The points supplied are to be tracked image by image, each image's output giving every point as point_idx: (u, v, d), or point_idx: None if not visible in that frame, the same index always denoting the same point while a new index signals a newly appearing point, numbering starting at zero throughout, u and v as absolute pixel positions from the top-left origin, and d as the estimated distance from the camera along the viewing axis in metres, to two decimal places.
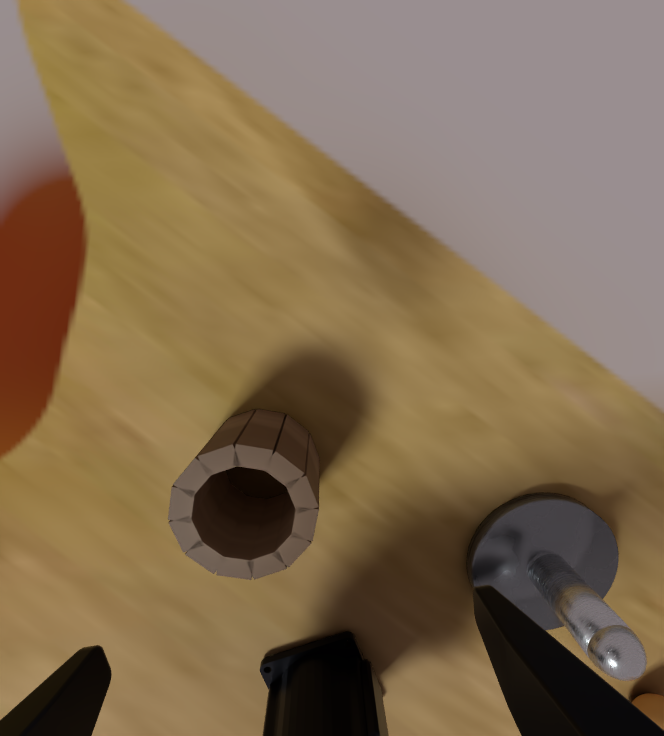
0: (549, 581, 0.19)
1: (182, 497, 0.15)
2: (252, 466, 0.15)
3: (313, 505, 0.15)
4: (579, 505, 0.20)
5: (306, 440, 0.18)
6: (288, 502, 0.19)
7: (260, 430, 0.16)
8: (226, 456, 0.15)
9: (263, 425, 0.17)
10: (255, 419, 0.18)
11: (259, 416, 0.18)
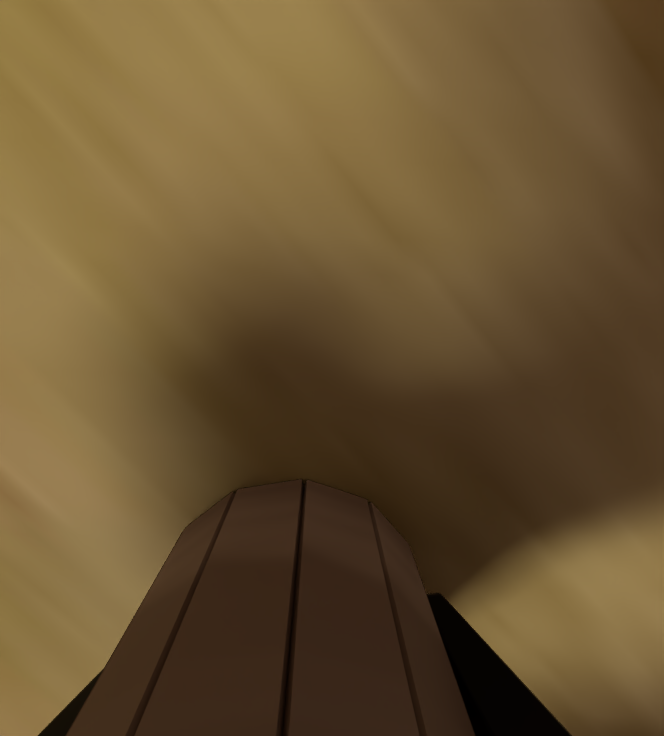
0: None
1: None
2: None
3: None
4: None
5: (422, 588, 0.07)
6: None
7: (340, 599, 0.05)
8: None
9: (341, 563, 0.06)
10: (314, 530, 0.07)
11: (318, 514, 0.07)
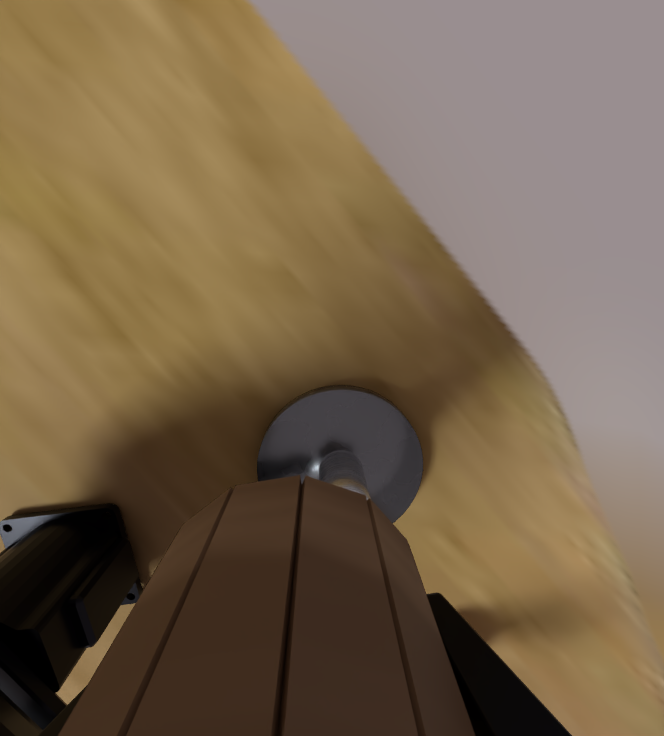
0: (326, 471, 0.16)
1: None
2: None
3: None
4: (388, 403, 0.18)
5: (420, 584, 0.07)
6: None
7: (338, 594, 0.05)
8: None
9: (338, 558, 0.06)
10: (312, 525, 0.07)
11: (316, 509, 0.07)
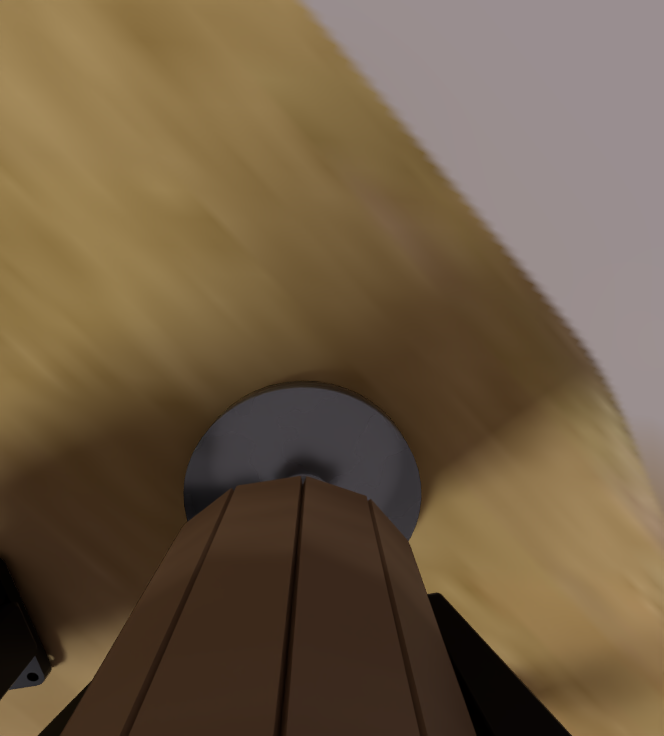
0: None
1: None
2: None
3: None
4: (366, 405, 0.12)
5: (421, 585, 0.07)
6: None
7: (340, 595, 0.05)
8: None
9: (340, 559, 0.06)
10: (313, 526, 0.07)
11: (317, 510, 0.07)
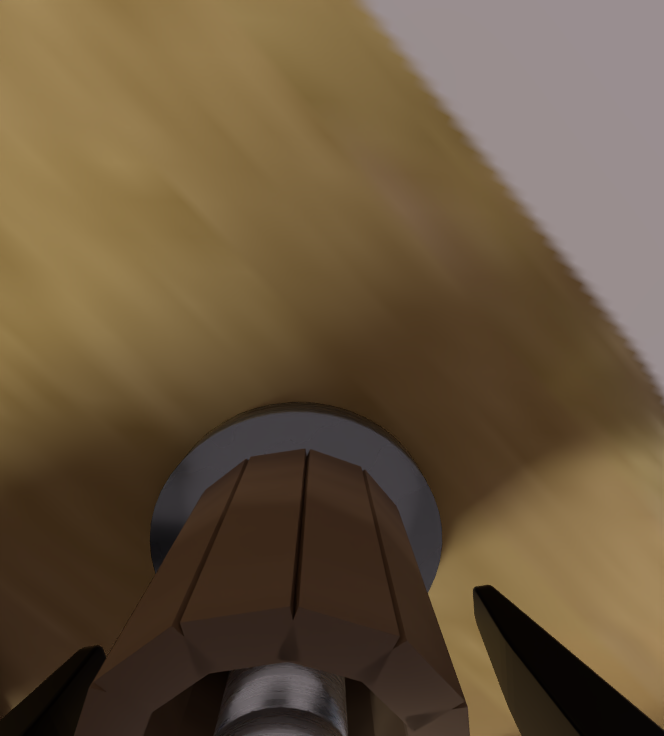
0: None
1: (116, 714, 0.05)
2: (326, 661, 0.05)
3: None
4: (376, 433, 0.10)
5: (406, 538, 0.09)
6: None
7: (337, 531, 0.07)
8: (263, 633, 0.05)
9: (338, 508, 0.08)
10: (316, 484, 0.08)
11: (320, 473, 0.09)
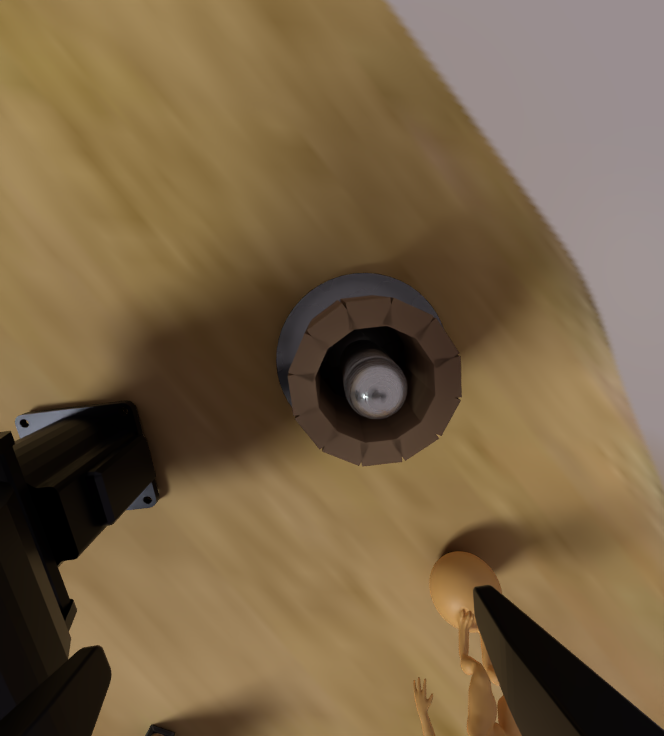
0: (349, 351, 0.16)
1: (312, 349, 0.12)
2: (401, 331, 0.13)
3: (456, 393, 0.13)
4: (412, 288, 0.17)
5: None
6: None
7: None
8: (378, 310, 0.12)
9: None
10: None
11: None
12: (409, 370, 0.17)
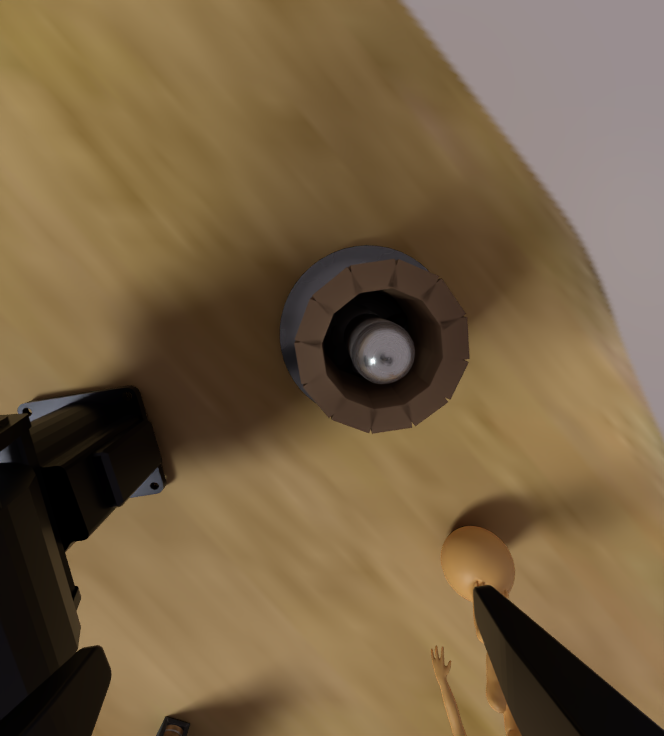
0: (353, 322, 0.16)
1: (318, 314, 0.12)
2: (407, 294, 0.12)
3: (464, 355, 0.13)
4: (414, 260, 0.17)
5: None
6: None
7: None
8: (383, 272, 0.12)
9: None
10: None
11: None
12: (413, 341, 0.17)
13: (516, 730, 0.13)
